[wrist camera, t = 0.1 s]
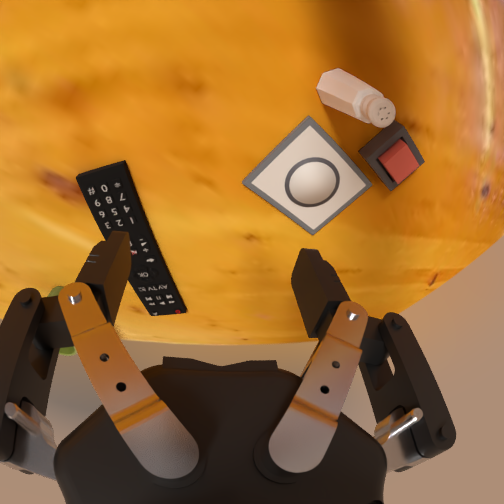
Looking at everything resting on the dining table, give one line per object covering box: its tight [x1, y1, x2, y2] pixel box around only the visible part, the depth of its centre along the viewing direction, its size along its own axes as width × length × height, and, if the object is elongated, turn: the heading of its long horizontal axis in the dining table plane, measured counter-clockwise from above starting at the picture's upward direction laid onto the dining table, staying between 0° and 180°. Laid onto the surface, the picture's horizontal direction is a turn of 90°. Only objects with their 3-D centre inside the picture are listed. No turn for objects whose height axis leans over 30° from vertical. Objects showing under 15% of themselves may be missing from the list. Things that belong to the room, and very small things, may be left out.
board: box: [242, 115, 372, 235], centre depth 35 cm, size 12×14×1 cm
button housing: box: [358, 120, 425, 191], centre depth 32 cm, size 7×7×2 cm
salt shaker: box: [316, 68, 396, 128], centre depth 23 cm, size 5×5×11 cm
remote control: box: [76, 160, 186, 316], centre depth 41 cm, size 8×32×2 cm, turn 6°
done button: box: [378, 139, 419, 184], centre depth 30 cm, size 4×4×2 cm
